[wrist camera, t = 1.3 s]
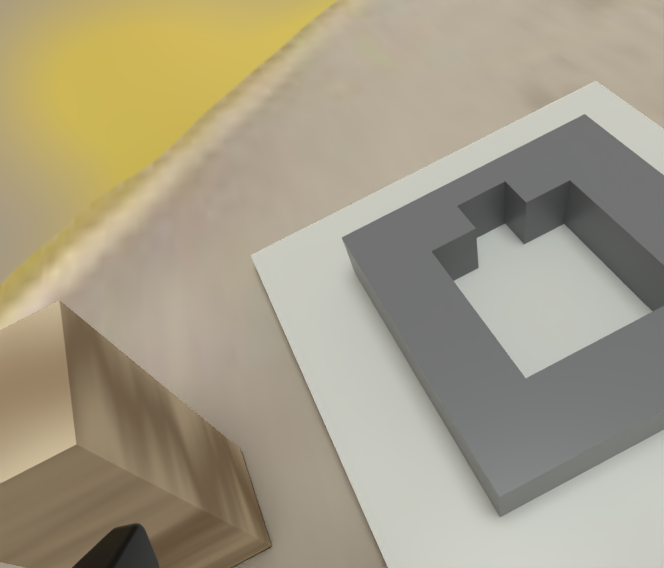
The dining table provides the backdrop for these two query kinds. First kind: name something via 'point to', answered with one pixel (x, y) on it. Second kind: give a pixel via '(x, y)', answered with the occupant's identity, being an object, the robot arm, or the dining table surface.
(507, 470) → the socket block
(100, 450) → the keyed peg
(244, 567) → the dining table surface
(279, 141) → the dining table surface
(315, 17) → the dining table surface
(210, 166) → the dining table surface
